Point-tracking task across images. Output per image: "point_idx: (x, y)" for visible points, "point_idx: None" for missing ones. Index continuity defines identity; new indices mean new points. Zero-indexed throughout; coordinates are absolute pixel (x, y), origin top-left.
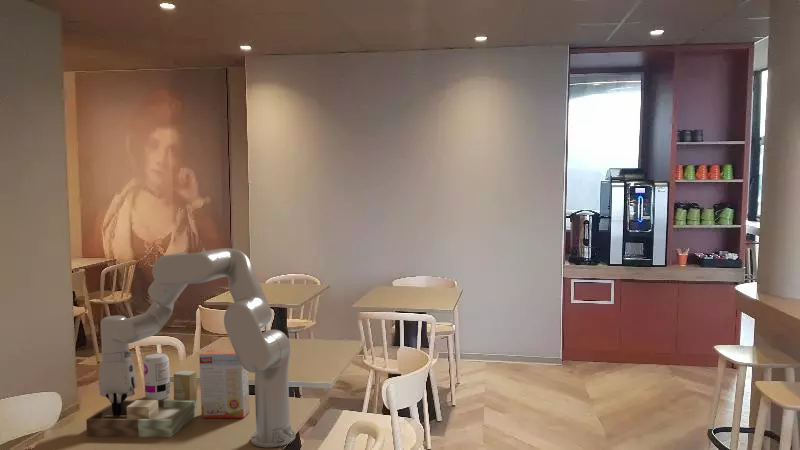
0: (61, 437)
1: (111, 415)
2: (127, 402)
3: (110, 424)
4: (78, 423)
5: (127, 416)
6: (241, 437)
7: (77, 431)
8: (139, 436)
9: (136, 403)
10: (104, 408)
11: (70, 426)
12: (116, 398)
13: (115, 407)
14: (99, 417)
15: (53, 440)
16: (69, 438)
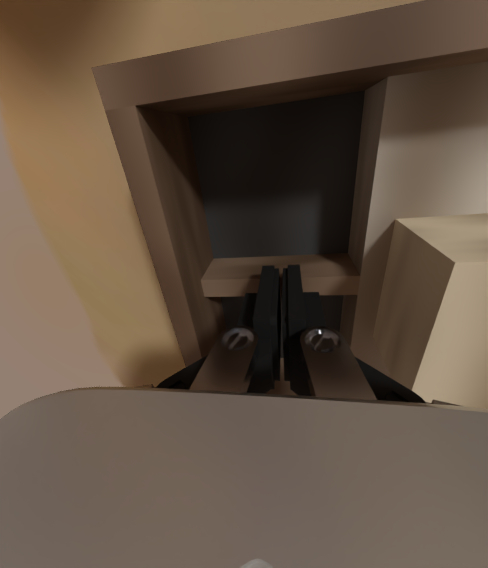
0: (141, 366)
1: (232, 282)
2: (231, 90)
3: None
4: (67, 250)
5: (382, 349)
6: None
7: (147, 325)
8: None
9: (484, 353)
10: (165, 296)
11: (71, 283)
12: (258, 367)
13: (280, 353)
14: (210, 349)
15: (139, 383)
16: (175, 373)
